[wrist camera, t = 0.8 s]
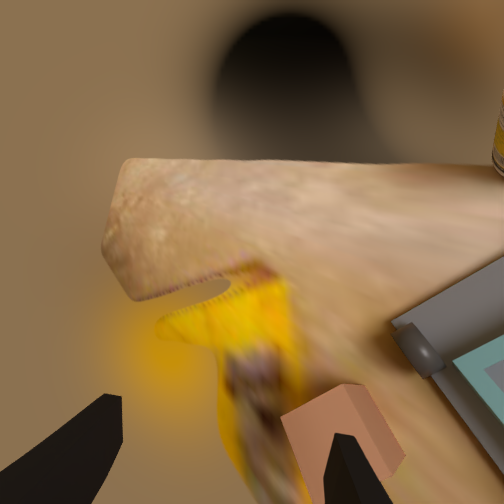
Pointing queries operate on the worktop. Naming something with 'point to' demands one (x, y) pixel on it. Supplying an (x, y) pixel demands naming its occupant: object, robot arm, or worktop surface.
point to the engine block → (345, 422)
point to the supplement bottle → (499, 142)
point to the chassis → (464, 350)
